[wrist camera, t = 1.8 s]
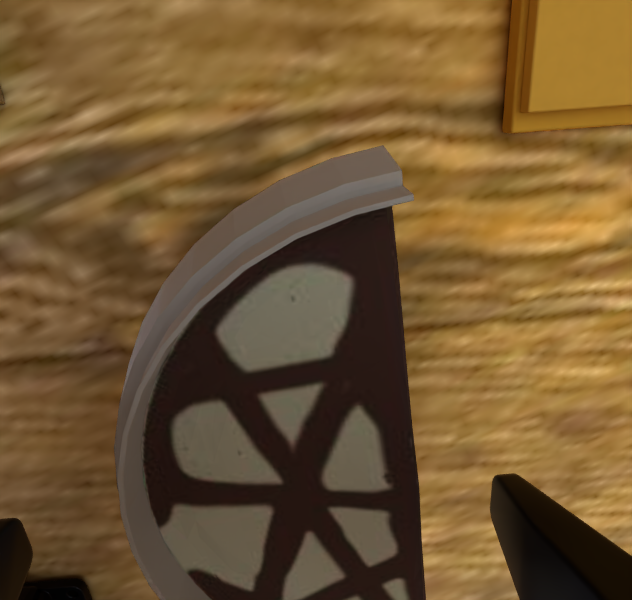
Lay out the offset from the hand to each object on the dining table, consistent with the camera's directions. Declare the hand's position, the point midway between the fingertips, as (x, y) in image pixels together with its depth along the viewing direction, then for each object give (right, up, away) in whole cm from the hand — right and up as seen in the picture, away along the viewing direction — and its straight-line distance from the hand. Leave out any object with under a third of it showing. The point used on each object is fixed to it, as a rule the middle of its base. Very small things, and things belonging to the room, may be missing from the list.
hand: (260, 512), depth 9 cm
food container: (0, +4, +9) cm, 10 cm away
